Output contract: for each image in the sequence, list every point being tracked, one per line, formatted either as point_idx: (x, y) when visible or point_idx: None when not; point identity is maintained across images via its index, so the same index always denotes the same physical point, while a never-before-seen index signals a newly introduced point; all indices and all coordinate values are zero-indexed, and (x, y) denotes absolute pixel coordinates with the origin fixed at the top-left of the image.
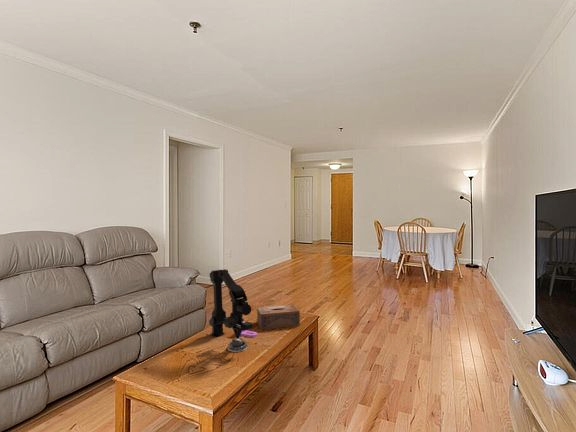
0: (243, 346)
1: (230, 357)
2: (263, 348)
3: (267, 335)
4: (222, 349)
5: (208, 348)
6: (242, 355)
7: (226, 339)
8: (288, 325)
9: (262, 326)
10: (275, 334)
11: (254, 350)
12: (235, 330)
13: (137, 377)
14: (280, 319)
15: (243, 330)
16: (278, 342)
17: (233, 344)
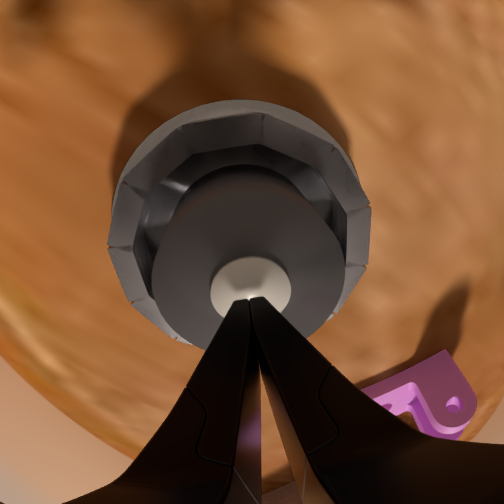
0: (115, 266)
1: (68, 29)
2: (79, 368)
3: None
4: (341, 66)
5: (456, 15)
6: (27, 164)
7: (465, 260)
8: (265, 497)
9: None
10: None
11: (71, 311)
12: (298, 447)
13: None
14: None
15: (419, 401)
16: (127, 441)
17: (234, 181)
